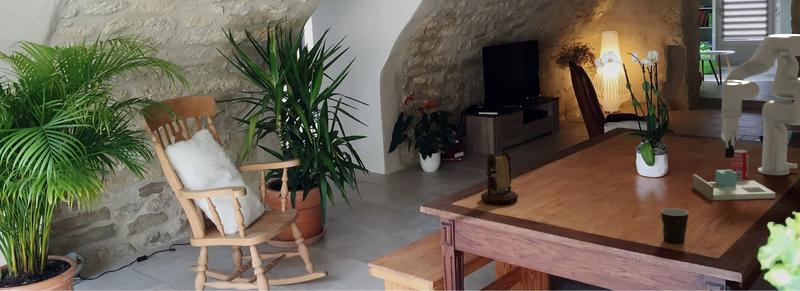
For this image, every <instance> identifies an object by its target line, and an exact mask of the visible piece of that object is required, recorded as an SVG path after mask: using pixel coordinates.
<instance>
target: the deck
mask: <svg viewBox="0 0 800 291" xmlns="http://www.w3.org/2000/svg"><path fill="white" fill-rule="evenodd" d="M692 188H693V189H694V190H696V192H698V193H700V194H701V195H703V196H704V197H706V199H708V200H710V201H726V200H727V201H729V200H730V201H732V200H753V199H754V200H755V199H776V195H777V194H776V192H774V191H773V190H771V189H769V188H767V187H766V186H765V185H763V184H761V183H759V182H757V181H756V180H747V181H736V186H731V187H721V186H719V185H717V184H716V183H715V181H706V180H704V179H703V178H702V177H700V176H699V175H698V174H696V173H695V174H693V175H692Z"/></svg>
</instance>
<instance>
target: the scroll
mask: <svg viewBox="0 0 800 291" xmlns="http://www.w3.org/2000/svg"><path fill="white" fill-rule="evenodd" d="M511 159H512V157H511V156H510V154H509V153H508V152H507V151H503V152H502V153H501V156H495V155H494V153H490V154H488V157H487V159H486V165H487V168H486V172H485V173H486V174H485V175H486V176H487V180H486V181H487V183H486V186H487V190H485V191H484V192H483V193H481V195H480V199H481V200H482V202H483V201H484V202H488V203H494V205H495V206H498V205H499V204H505V203H511V202H515V203H518V199H519V194H518V193H517V192H516V191H513V190H511V189H512V186H511V184H512V179H511V177H512V175H511V172H512V171H513V170H512V167H511V166H512V165H511V162H512V161H511ZM492 175H496V178H495V177H494V176H492ZM498 203H499V204H498Z"/></svg>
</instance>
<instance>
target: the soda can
mask: <svg viewBox="0 0 800 291" xmlns="http://www.w3.org/2000/svg"><path fill="white" fill-rule="evenodd" d="M749 157H750V155H749V153H748V150H746V149H738V148H737V149H735V148H734V158H729V170H732V171H734V172H736V173H737V177H736V181H749V180H748V179H749V161H750V160H749Z"/></svg>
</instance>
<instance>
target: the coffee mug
mask: <svg viewBox="0 0 800 291" xmlns="http://www.w3.org/2000/svg"><path fill="white" fill-rule="evenodd" d="M660 212H661V213H660V214H661V223H662V225H661V226H662V234H663V235H662V236H663V242H665V243H667V244H672V245H680V244H683V243H684V242H685V238H686V232H687V227H688V226H687V225H688V221H689V220H688V219H689V215H690V214H689V213H690V212H689V211H688V210H686V209H683V208H674V207H672V208H671V207H669V208H663V209H661V210H660Z"/></svg>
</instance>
